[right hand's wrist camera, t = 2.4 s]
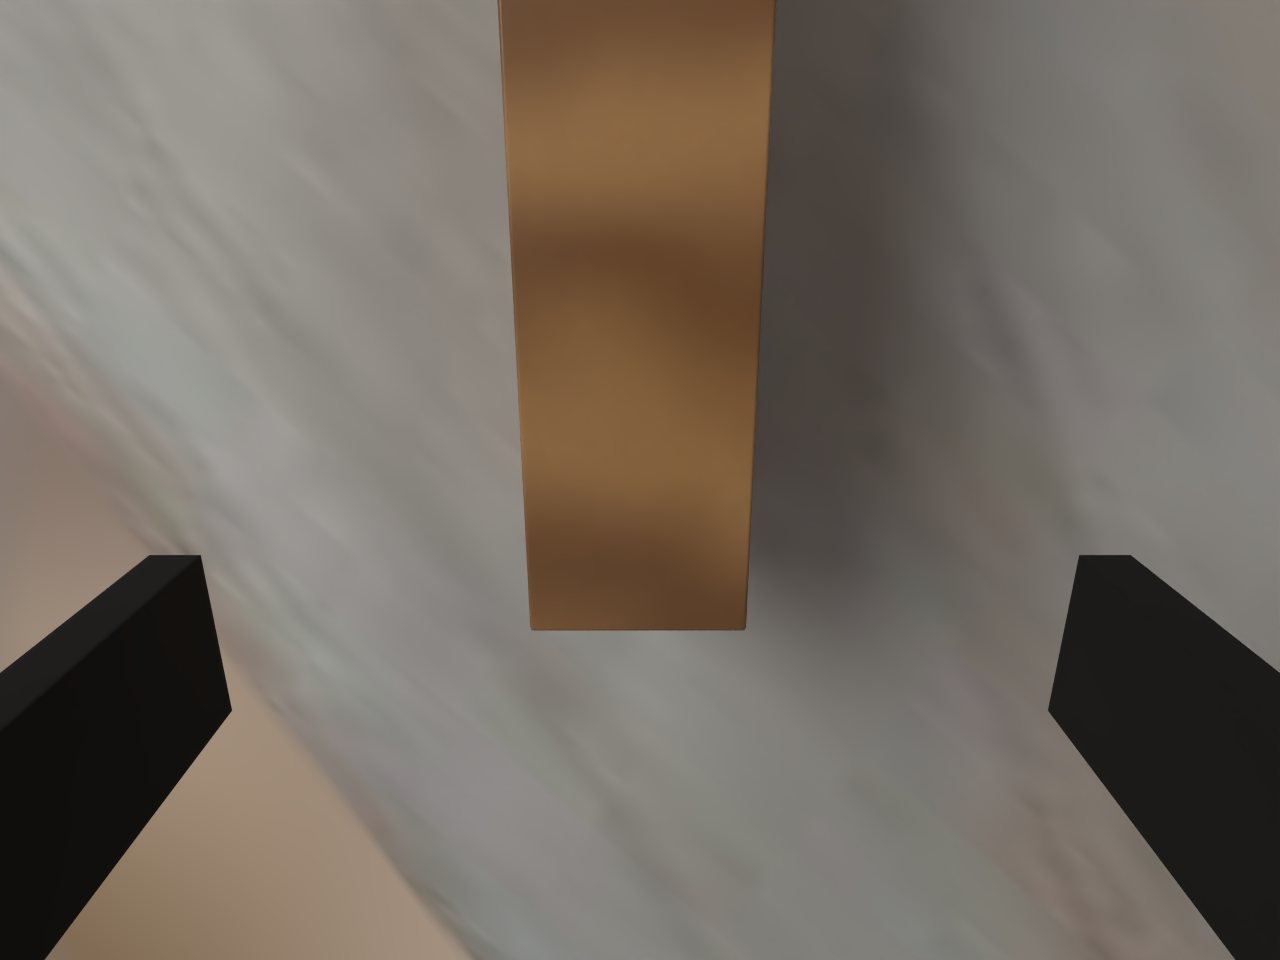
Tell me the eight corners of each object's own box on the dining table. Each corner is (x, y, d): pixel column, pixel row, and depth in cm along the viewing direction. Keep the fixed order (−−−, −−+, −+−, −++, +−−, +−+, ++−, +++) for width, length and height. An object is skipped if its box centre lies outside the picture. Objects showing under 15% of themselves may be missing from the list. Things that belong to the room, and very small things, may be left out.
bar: (717, 507, 28) (746, 631, 21) (559, 507, 28) (530, 631, 21) (750, -449, 20) (817, -837, 12) (525, -449, 20) (453, -836, 12)
